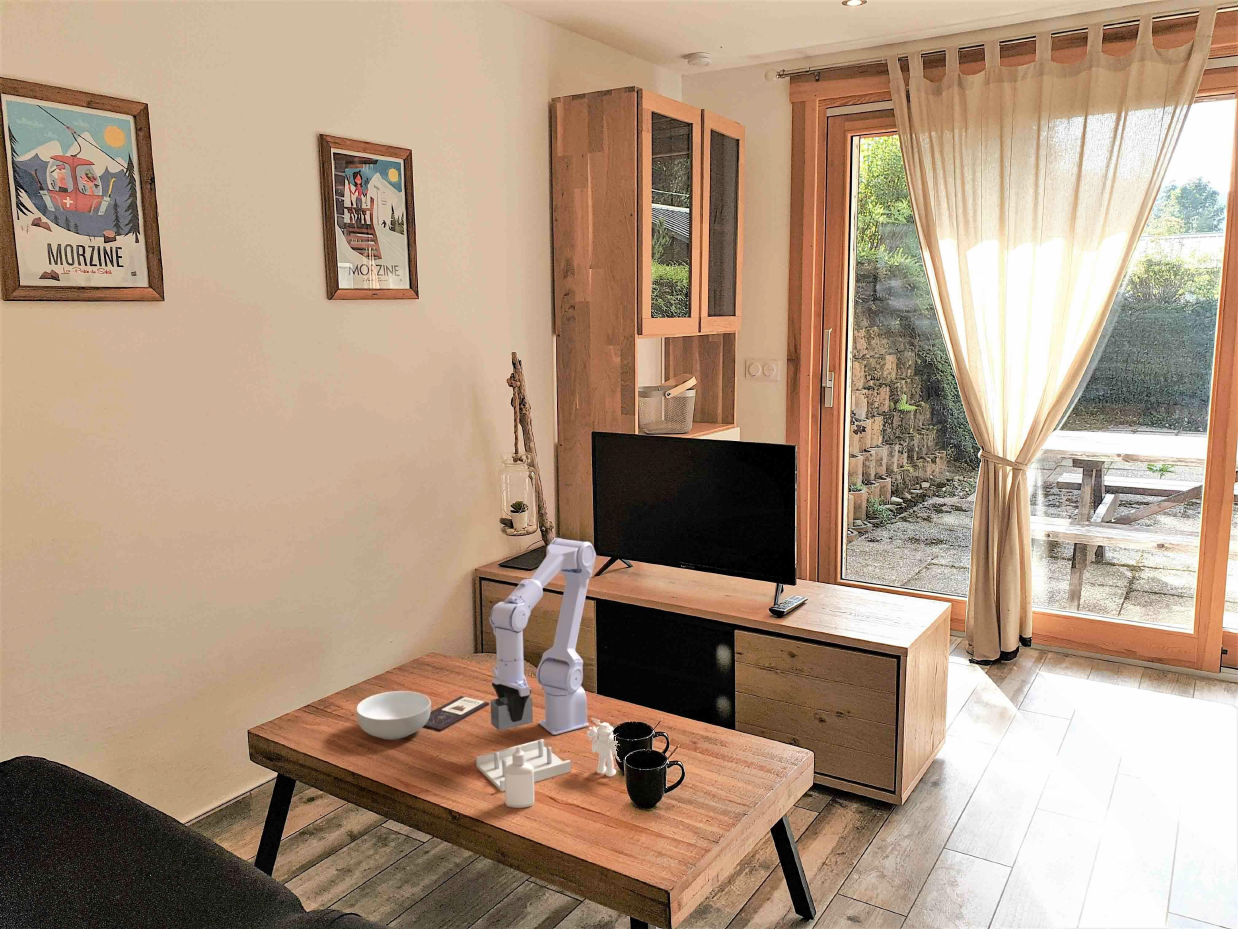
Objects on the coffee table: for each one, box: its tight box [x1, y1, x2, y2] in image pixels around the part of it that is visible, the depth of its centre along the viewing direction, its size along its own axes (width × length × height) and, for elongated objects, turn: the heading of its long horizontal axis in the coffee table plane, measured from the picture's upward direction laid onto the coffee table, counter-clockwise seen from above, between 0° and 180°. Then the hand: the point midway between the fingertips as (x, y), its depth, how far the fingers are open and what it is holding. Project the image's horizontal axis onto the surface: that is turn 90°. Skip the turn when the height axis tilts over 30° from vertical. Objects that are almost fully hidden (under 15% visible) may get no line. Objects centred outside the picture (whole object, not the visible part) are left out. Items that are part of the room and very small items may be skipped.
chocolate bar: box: [422, 695, 490, 732], centre depth 232 cm, size 9×1×18 cm
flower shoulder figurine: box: [586, 717, 621, 777], centre depth 200 cm, size 9×4×12 cm, turn 52°
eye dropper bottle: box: [504, 745, 535, 809], centre depth 187 cm, size 4×6×12 cm
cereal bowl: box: [355, 690, 432, 741], centre depth 222 cm, size 17×17×7 cm
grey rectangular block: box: [489, 696, 534, 732], centre depth 208 cm, size 8×4×6 cm, turn 121°
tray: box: [475, 738, 572, 793], centre depth 203 cm, size 16×13×4 cm
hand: (512, 717), depth 208 cm, fingers closed on grey rectangular block, 4 cm apart
